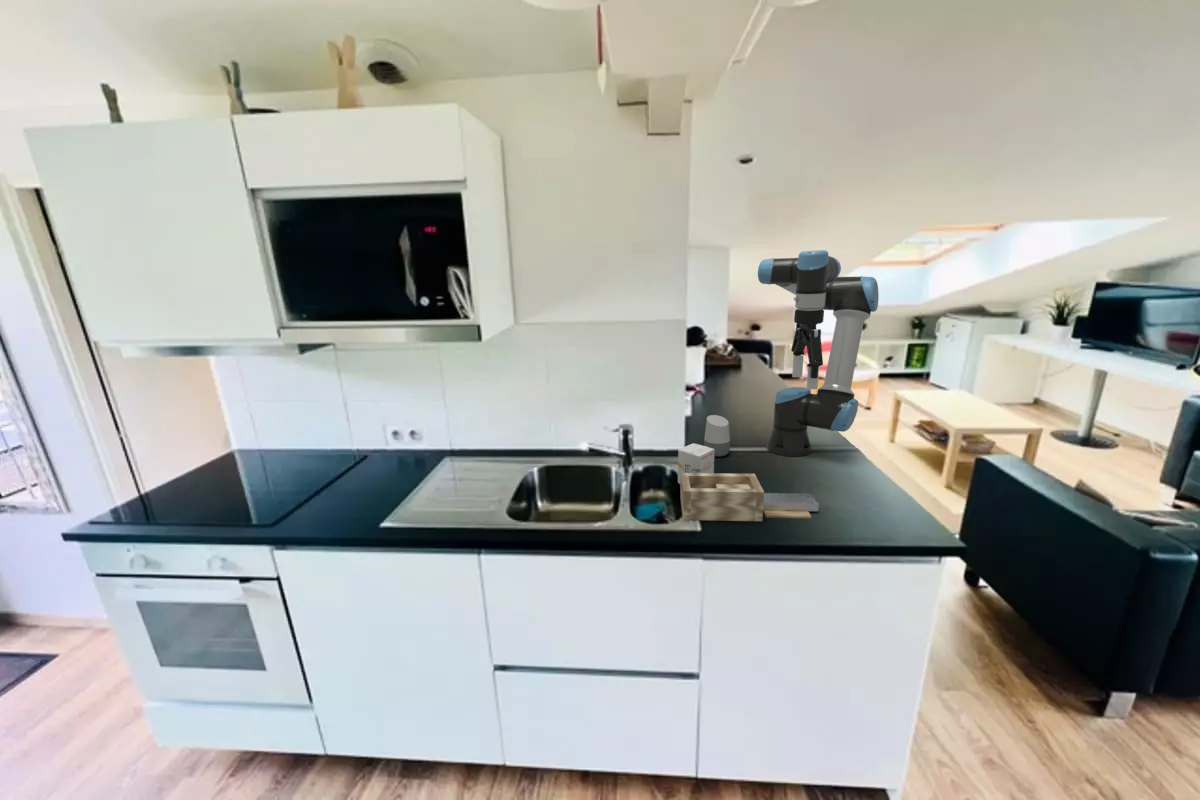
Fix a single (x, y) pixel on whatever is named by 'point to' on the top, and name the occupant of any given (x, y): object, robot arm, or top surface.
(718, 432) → the smart speaker
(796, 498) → the grey flat bar
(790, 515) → the pad
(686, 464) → the ink box
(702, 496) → the box
